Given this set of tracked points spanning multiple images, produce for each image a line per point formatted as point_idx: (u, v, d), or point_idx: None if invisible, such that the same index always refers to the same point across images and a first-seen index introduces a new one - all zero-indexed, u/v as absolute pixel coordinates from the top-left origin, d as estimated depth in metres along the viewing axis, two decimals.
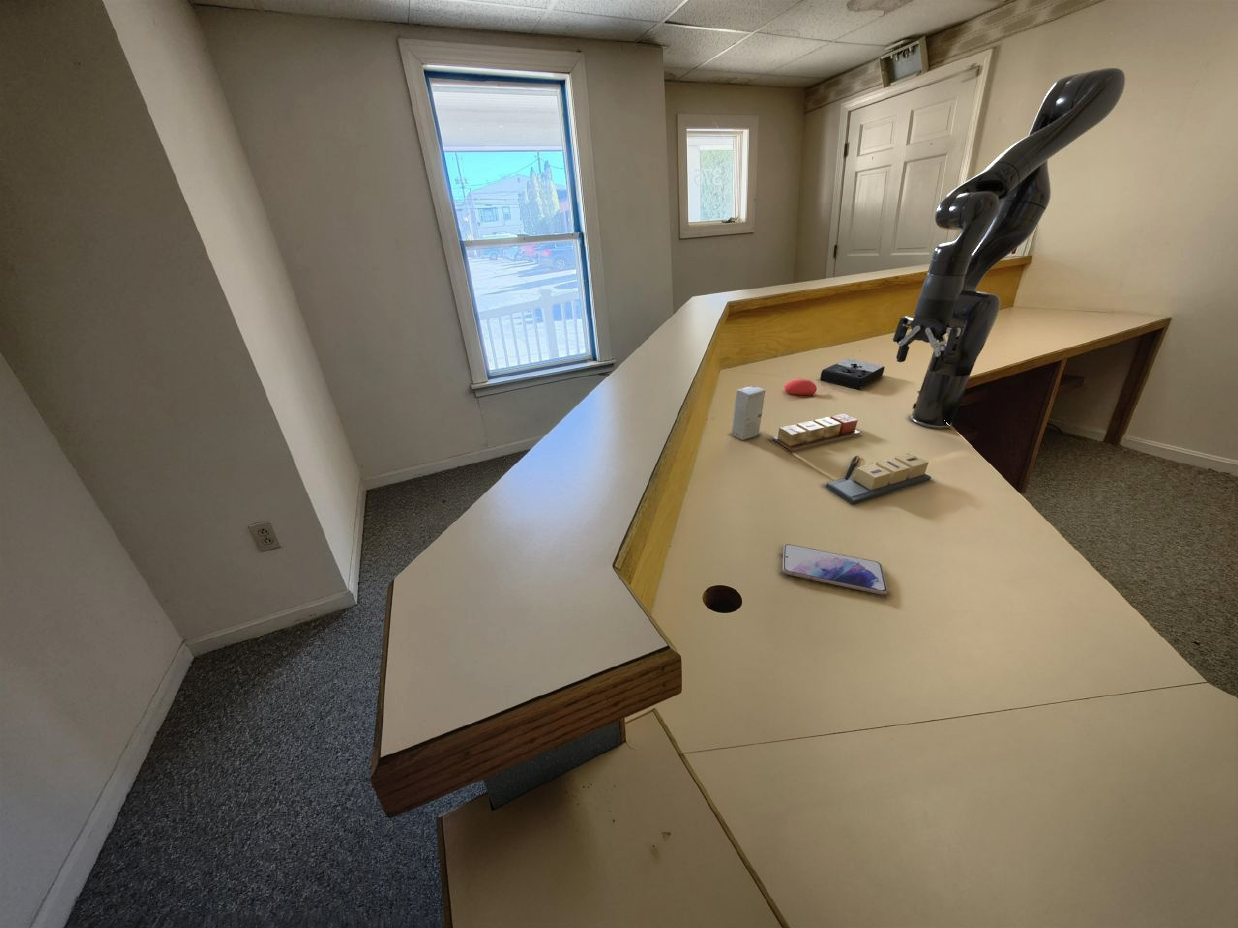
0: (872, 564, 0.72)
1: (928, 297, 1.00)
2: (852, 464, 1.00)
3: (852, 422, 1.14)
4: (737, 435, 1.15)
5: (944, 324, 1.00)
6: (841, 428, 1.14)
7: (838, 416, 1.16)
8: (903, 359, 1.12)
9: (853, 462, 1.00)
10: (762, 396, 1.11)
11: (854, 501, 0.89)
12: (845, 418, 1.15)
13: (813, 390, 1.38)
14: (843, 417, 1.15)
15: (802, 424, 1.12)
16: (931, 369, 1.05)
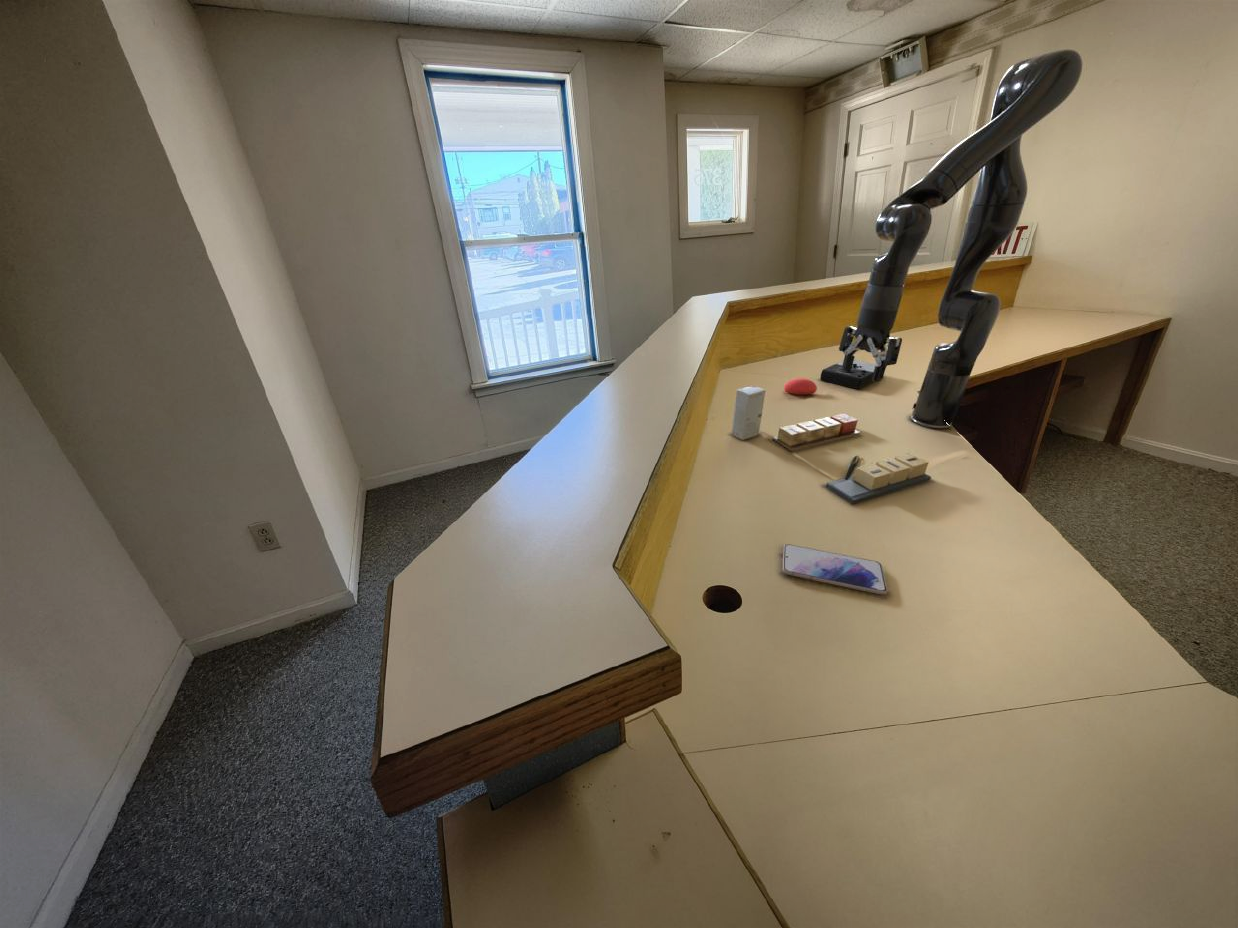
0: (872, 564, 0.72)
1: (868, 307, 1.00)
2: (852, 464, 1.00)
3: (852, 422, 1.14)
4: (737, 435, 1.15)
5: (884, 334, 1.01)
6: (841, 428, 1.14)
7: (838, 416, 1.16)
8: (849, 368, 1.12)
9: (853, 462, 1.00)
10: (762, 396, 1.11)
11: (854, 501, 0.89)
12: (845, 418, 1.15)
13: (813, 389, 1.38)
14: (843, 417, 1.15)
15: (802, 424, 1.12)
16: (873, 379, 1.05)
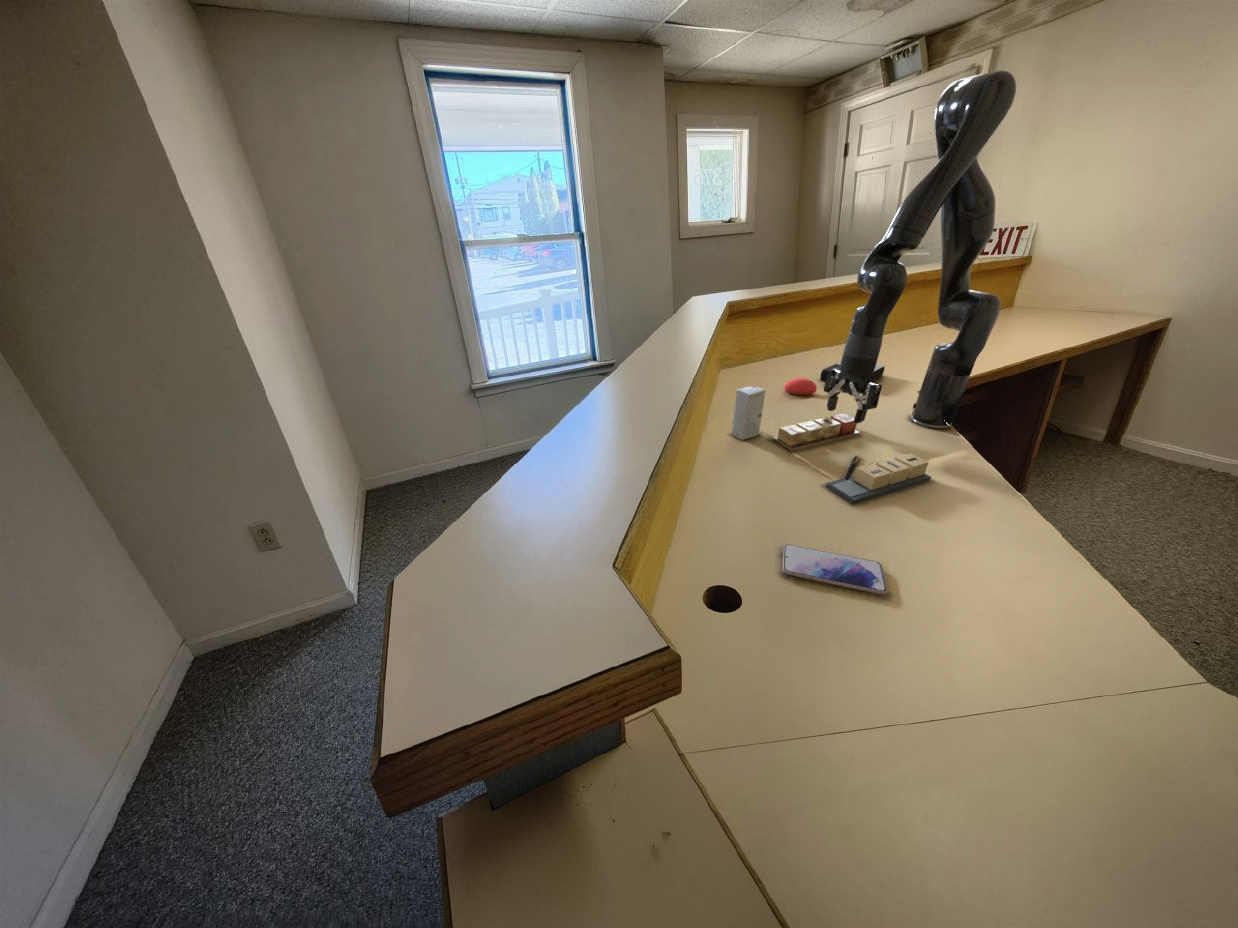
0: (872, 564, 0.72)
1: (850, 355, 1.05)
2: (852, 464, 1.00)
3: (852, 422, 1.14)
4: (737, 435, 1.15)
5: (865, 380, 1.06)
6: (841, 428, 1.14)
7: (838, 416, 1.16)
8: (833, 408, 1.17)
9: (853, 462, 1.00)
10: (762, 396, 1.11)
11: (854, 501, 0.89)
12: (845, 418, 1.15)
13: (813, 389, 1.38)
14: (843, 417, 1.15)
15: (802, 424, 1.12)
16: (855, 421, 1.10)
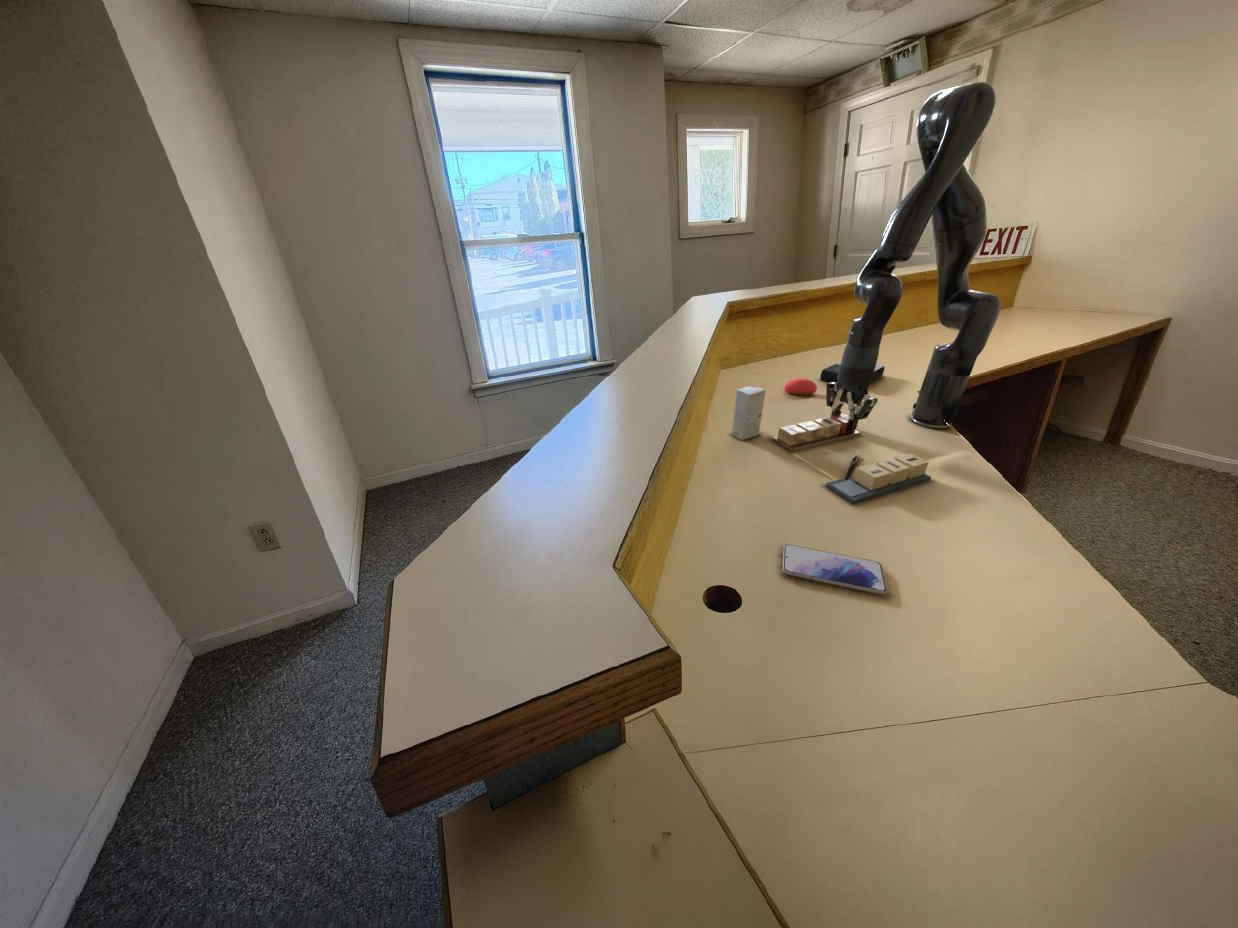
0: (872, 564, 0.72)
1: (847, 365, 1.07)
2: (852, 464, 1.00)
3: None
4: (737, 435, 1.15)
5: (862, 390, 1.07)
6: (841, 428, 1.14)
7: (838, 416, 1.16)
8: None
9: (853, 462, 1.00)
10: (762, 396, 1.11)
11: (854, 501, 0.89)
12: (845, 418, 1.15)
13: (813, 389, 1.38)
14: (843, 417, 1.15)
15: (802, 424, 1.12)
16: (847, 430, 1.14)
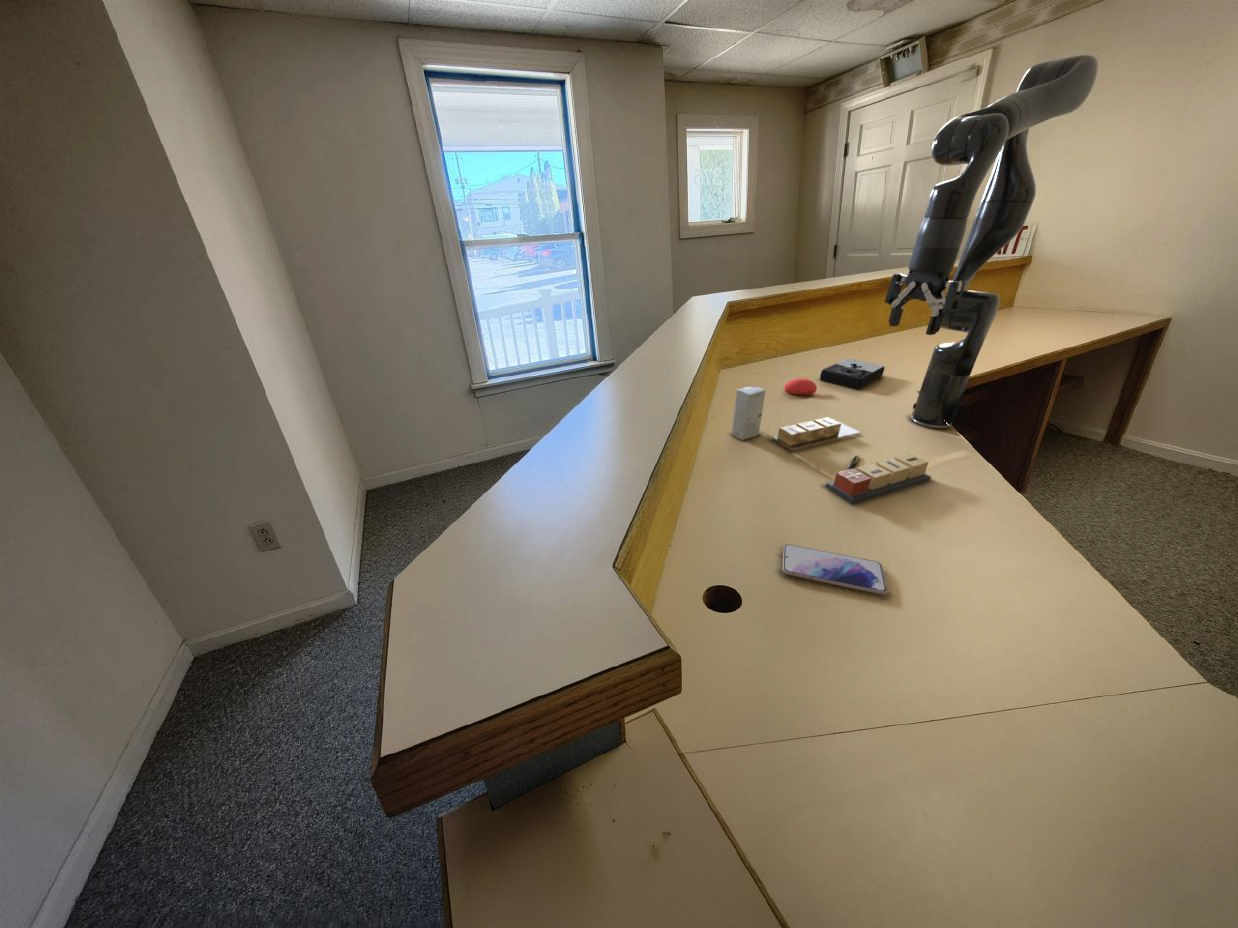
0: (872, 564, 0.72)
1: (924, 246, 0.86)
2: (852, 464, 1.00)
3: (864, 482, 0.89)
4: (737, 435, 1.15)
5: (943, 278, 0.87)
6: (850, 489, 0.89)
7: (846, 472, 0.91)
8: (896, 323, 0.98)
9: (853, 462, 1.00)
10: (762, 396, 1.11)
11: (854, 501, 0.89)
12: (855, 476, 0.90)
13: (813, 389, 1.38)
14: (852, 474, 0.91)
15: (802, 424, 1.12)
16: (928, 331, 0.91)
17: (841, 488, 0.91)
